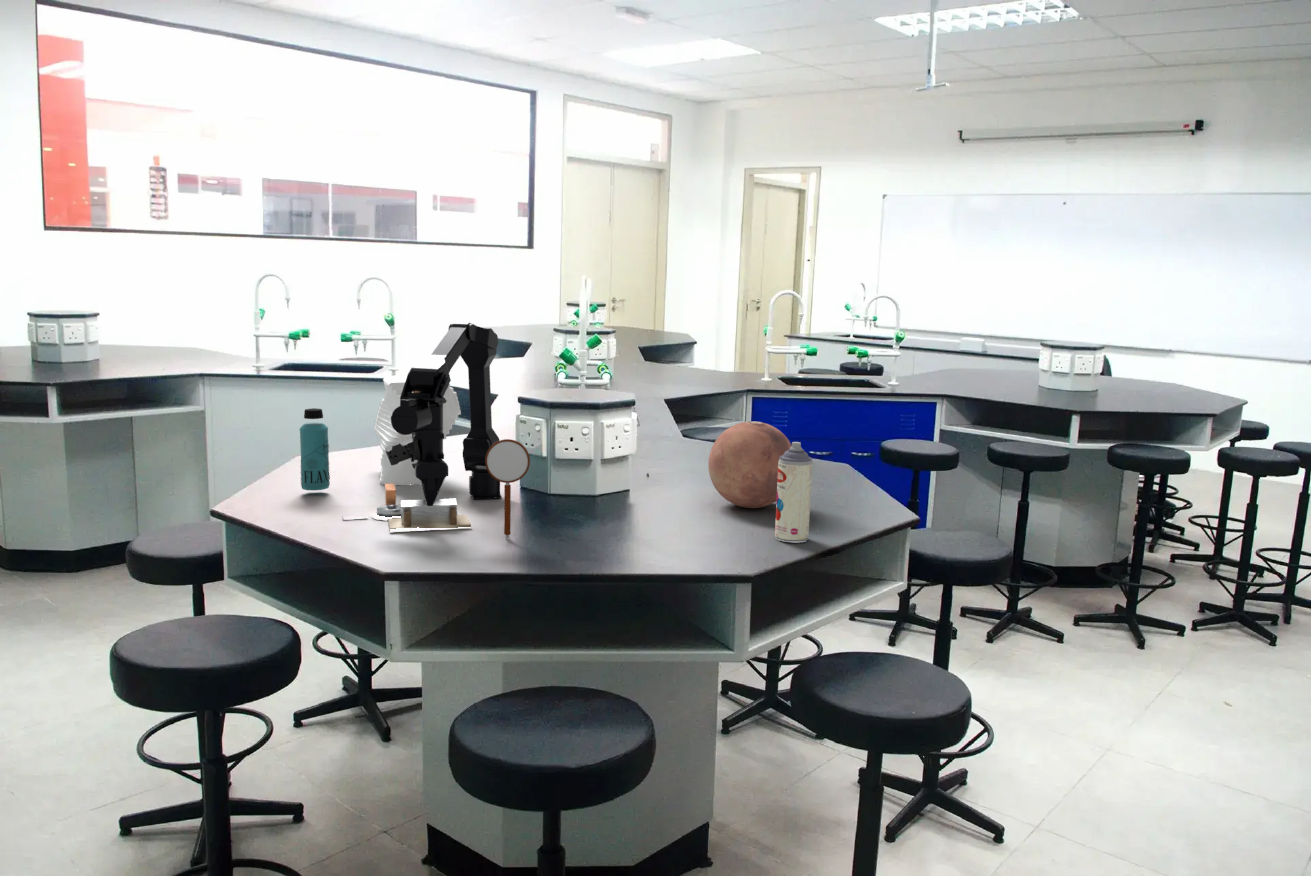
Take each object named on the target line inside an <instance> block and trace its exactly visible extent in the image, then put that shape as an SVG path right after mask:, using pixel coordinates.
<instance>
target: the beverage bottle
mask: <svg viewBox="0 0 1311 876" xmlns="http://www.w3.org/2000/svg"><path fill="white" fill-rule="evenodd" d="M323 418H324V414H323V409H322V408H305V409H304V414H303V419H307V420H319V419H323ZM299 441H300V446H299V447H300V466H299V467H300V487H301V489H302V490H304V491H321V490H322V491H324V490H327V489H329V487H330V485H331V484H330V480H331V479H330V478H331V475H330V471H331V470H330V468H331V467H330V460H329V459H330V457H329V454H330V450H329V448H330V445H329V428H328V426H327V425H326V424H325V423H323V422H318V421H317V422H306V423H303V424H302V425H301V426H300V427H299Z"/></svg>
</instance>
